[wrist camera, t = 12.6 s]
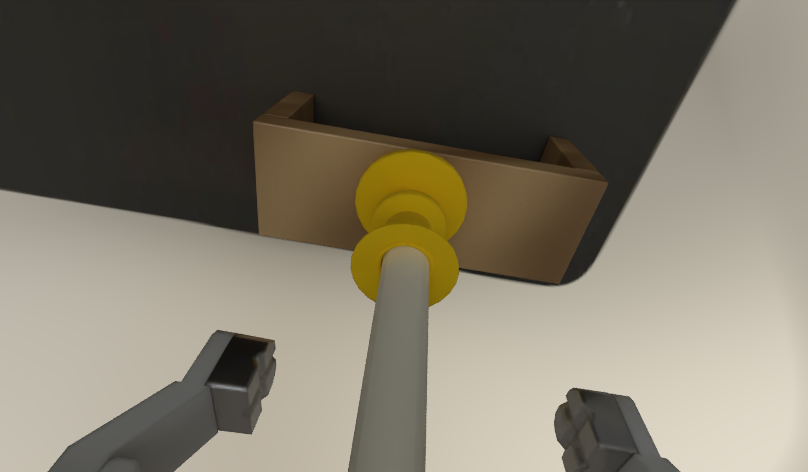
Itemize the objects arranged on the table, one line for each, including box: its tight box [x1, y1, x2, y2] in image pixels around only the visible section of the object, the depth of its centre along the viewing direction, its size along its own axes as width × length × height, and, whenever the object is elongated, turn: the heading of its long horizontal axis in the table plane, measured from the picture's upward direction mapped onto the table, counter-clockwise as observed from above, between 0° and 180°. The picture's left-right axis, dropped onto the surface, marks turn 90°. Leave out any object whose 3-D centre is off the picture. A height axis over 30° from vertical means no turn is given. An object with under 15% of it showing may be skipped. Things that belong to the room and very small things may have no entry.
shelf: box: [253, 91, 608, 284], centre depth 21 cm, size 16×6×6 cm, turn 81°
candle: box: [348, 149, 467, 472], centre depth 12 cm, size 5×5×16 cm
